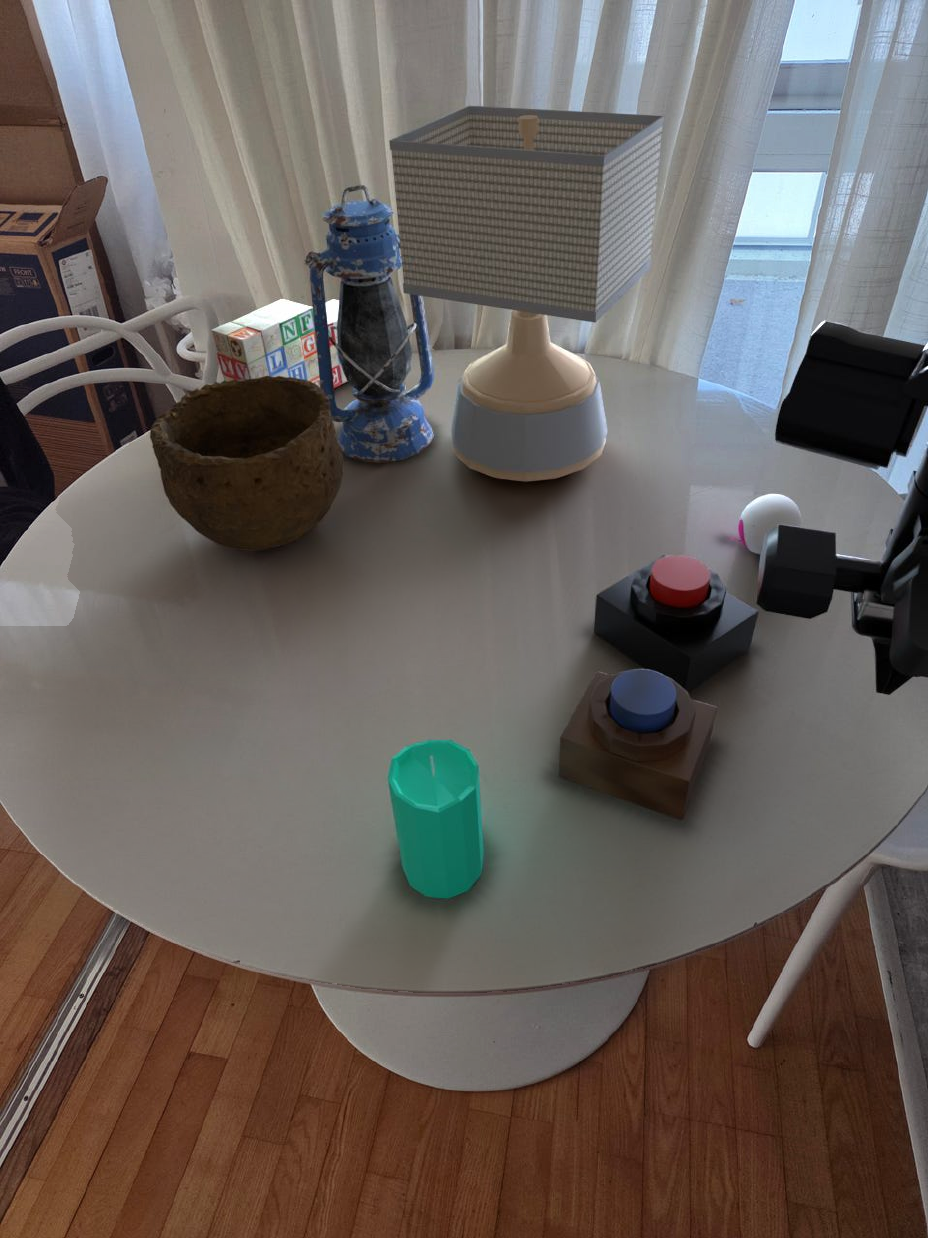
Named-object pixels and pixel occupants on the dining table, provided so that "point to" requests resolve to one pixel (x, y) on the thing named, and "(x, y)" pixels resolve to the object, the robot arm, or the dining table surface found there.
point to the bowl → (250, 460)
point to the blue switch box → (636, 750)
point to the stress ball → (766, 519)
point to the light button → (679, 581)
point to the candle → (437, 816)
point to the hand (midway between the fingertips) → (881, 689)
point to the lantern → (370, 334)
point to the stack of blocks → (276, 343)
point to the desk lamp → (528, 263)
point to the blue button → (642, 700)
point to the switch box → (675, 629)
